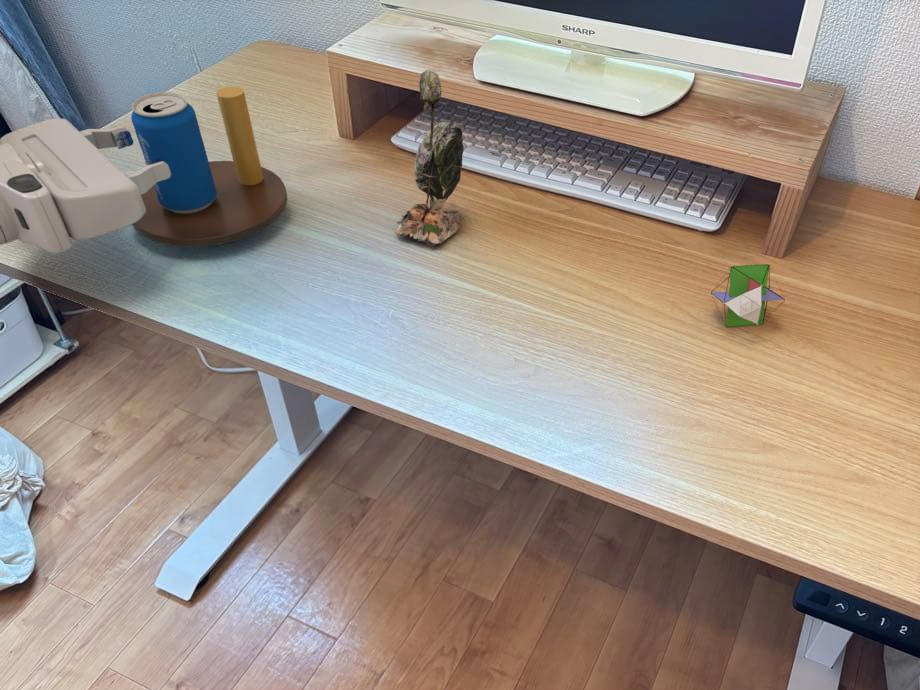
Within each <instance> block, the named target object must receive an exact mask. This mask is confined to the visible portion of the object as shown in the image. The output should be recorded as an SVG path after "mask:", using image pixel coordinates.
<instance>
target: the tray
mask: <svg viewBox="0 0 920 690" xmlns="http://www.w3.org/2000/svg"><path fill="white" fill-rule="evenodd" d="M216 97H217V102H218V107H219V110H220V114H221V118H222V121H223V125H224V130H225V134H226V138H227V141H228V146H229V150H230V154H231V157H232V160H213V161H209V165H210V169H211V172H212V176H213V180H214V183H215V187H216V190H217V196H216V198H215V200H214V201H213V202H212V203H211V204H210V205H209V206H208V207H207V208H205V209H203V210H201V211H198V212H194V213H185V214H184V213H176V212H173V211H171V210H169V209H166V208H164V207H163V206H161V204H160V203H159V200H158V197H157V194H156V191H155V188H154V186H153V187H151V188H150V189H149V190H148V191H147V192H146V193H144V194H141V196H142V199H143V202H144V205H145V208H146V213H145V214H144V216H143V217H142V218H141V219H140V220H138V221H137V222H135V223H133V224H131V226H132V227H133V229H135V231H137V232H138V233H139V234H140V235H141V236H143V237H145V238H146V239H149V240H151V241H153V242H156V243H160V244H162V245H163V244H164V245H167V246H174V247H175V246H176V247H189V248H191V247H192V248H194V247H195V248H196V247H211V246H216V245H223V244H227V243H231V242H235V241H239V240H242V239H245V238H247V237H249V236H252V235H255V234H257V233H258V232H260V231H262V230H264V229H266V228H268V227H269V226H270V225H271V224H273V223H274V222H275V221H277V220H278V219H279V217H280V216H281V215H282V214H283V212H284V211H285V210H286V206H287V203H288V193H287V188H286V185H285V183H284V182H283V180H282V178H281V177H280V176H278V175H277V174H276V173H275V172H273V171H272V170H270V169H268V168H266V167H263V166H262V165H261V161H260V156H259V151H258V147H257V143H256V139H255V134H254V130H253V126H252V120H251V116H250V111H249V108H248V103H247V99H246V94H245V90H244V89H243V88H242V87H240V86H234V85H232V86H231V85H230V86H229V85H228V86H224V87H221V88H219V89H217V91H216Z"/></svg>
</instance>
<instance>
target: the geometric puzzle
mask: <svg viewBox="0 0 920 690" xmlns="http://www.w3.org/2000/svg"><path fill="white" fill-rule="evenodd" d="M728 270H729V274H728V276H727V277H726V279H724V280H723V281H722V282H721V283H720V284H719V282H720V281H718V282H717V284H719V285H716V286H714V287H713V289H712V290H710V291H709V294H710V295H711V296H712V298H713V299H712V300H715V298H716V299H717V300H719V302H721V303H722V304H723V310H724V311H723V312H724V313H726V316H724V320H722V321H723V324H724V326H725V328H738V327H753V326H762V327H763V326H764V323H765V322H767V321H768V320H769V318H771V316H769V315H770V313H768V315H766V312H767V306H768V302H772V301H773V302H774V301H782V302H781V304H784V302H785V301H787V299H786V298H785V297H782V296H781V295H779V294H778V293H776V292H775V291H774V290H772V289H771V284H770V283H771V281H770V279H771V278H770V277H771V276H770V275H771V274H770V270H771V271H773V269H772V267H771V263H766V264H765V263H764V264H763V263H762V264H749V265H748V264H745V265H733V264H731V265H730V267H729V268H728ZM726 274H727V272H726V273H724V275H726ZM723 277H724V276H722V277H721V279H723ZM774 279H775V281H776V282H778V280H777V279H776V277H774ZM726 280H727V285H726V289H725V291H715V290H716V289H718V288H719V286H721V284H723V283H724V282H725V281H726ZM728 287H729V288H728ZM779 290H780V292H781V293H782V295H783V294H784V293H783V292H782V291H783V290H782V289H781V288H779ZM714 297H715V298H714ZM714 303H715V306H716V308H717V309H719V308H718V305H717V303H716V302H714ZM725 306H726V307H727V311H726V307H725ZM780 307H781V305H778V306H777V307H775V308H774V309H773V311H777V310H778V309H779V308H780ZM718 313H719V314H720V317H721V318H723V317H722V314H721V312H720V311H718ZM765 318H768V319H767V320H765ZM724 321H725V322H724Z"/></svg>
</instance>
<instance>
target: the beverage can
mask: <svg viewBox="0 0 920 690" xmlns="http://www.w3.org/2000/svg"><path fill="white" fill-rule="evenodd" d="M131 109H132V112H131V119H130V120H131V123H132V125H133V128H134V131H135V134H136V137H137V140H138V143H139V146H140V149H141V152H142V156H143V158H144V162H147V161H150V160H154V159H156V158H160V159H162V160H163V161H164V162H165V163H167V164H168V166H169V169H170V172H171V176H170V178H168V179H165V180H162V181H159V182H156V184H155V185H154V188H155V191H156V194H157V197H158V200H159V203H160V204H161V206H163V207H164V208H166V209H169V210H171V211H173V212H176V213H184V214H185V213H194V212H198V211H201V210H203V209H205V208H207V207H208V206H209V205H210V204H211V203H212V202H213V201H214V200H215V198H216V196H217V190H216V187H215V183H214V180H213V176H212V172H211V169H210V165H209V162H210V161H209V158H208V154H207V151H206V148H205V143H204V140H203V136H202V133H201V129H200V126H199V122H198V117H197V114H196V111H195V109H194V108H193V106H192V105H191V104H190V103H189V101H188V98H187V97H186V96H185V95H183V94H180V93H177V92H169V91H168V92H165V91H164V92H155V93H149V94H146V95H143V96H141V97H139V98H137V99H136V100H135V101H133V103H132V104H131Z"/></svg>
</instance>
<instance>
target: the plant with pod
mask: <svg viewBox="0 0 920 690" xmlns="http://www.w3.org/2000/svg"><path fill="white" fill-rule="evenodd" d="M418 86H419V87H418V88H419V99H420V100H421V101H422V102H423V103H424V104H423V105H424V106H423V107H422V108H423V114H424V115H426V114H427V110H428V109H427V108H428V107H429V106H430V129H429V130H428V132H427V133H426V134H425V136H424V137H423V138H422V140H421V142H420V143H419V145H418V148H417V153H416V154H415V157H414V176H415V178H414V181H415V184H416V186H417V188H418V189H419V190H420V191H421V192H423V193H425V194H426V201H425V202H426V203H418V204H414V205H413V206H412V207H410V208H409V210H407V211H404V212H403V213H402V214H400V219H399V220H398V221H397V222H396V224H397V225H398V226H396V229H395V232H394V234H395V235H396V236H397V237H403V236H404V237H406V236H407V235H409V238H410V239H411V238H412V237H413V240H417V242H422V243H425V244H426V246H427V245H428V246H429V247H434V246H439V245H440V244H442V243H443V242H446V240H448V239H449V238H450V237H451V236H452V235H454V234H455V233H457V232H458V231H459V230H460V229H461V227H460V225H461V223H460V218H461V216H460V213H459V210H456V211H455V209H454V210H451V211H449V210H448V211H447V210H444V209H443V206H444V205H445V203H446V202H447V200H448V199H449V197H450V196H451V195H452V194H453V192H454V191H455V190H456V188H457V186H458V184H459V183H460V182H461V177H462V175H461V174H462V168H463V155H464V149H465V148H464V144H463V143H464V140H463V130H462V127H461V126H460V125H458V124H456V123H455V122H447V121H440V122H438V123H436V125H434V123H435V110H436V109H435V104H439V103H440V101H441V99H442V92H443V91H442V85H441V79H440V75H439V74H438V73H437V72H435V71H433V70H430V69H426V70H425V71H422V73H421V74H420V79H419V81H418ZM461 124H465V121H463V120H461ZM429 198H430V199H429Z"/></svg>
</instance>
